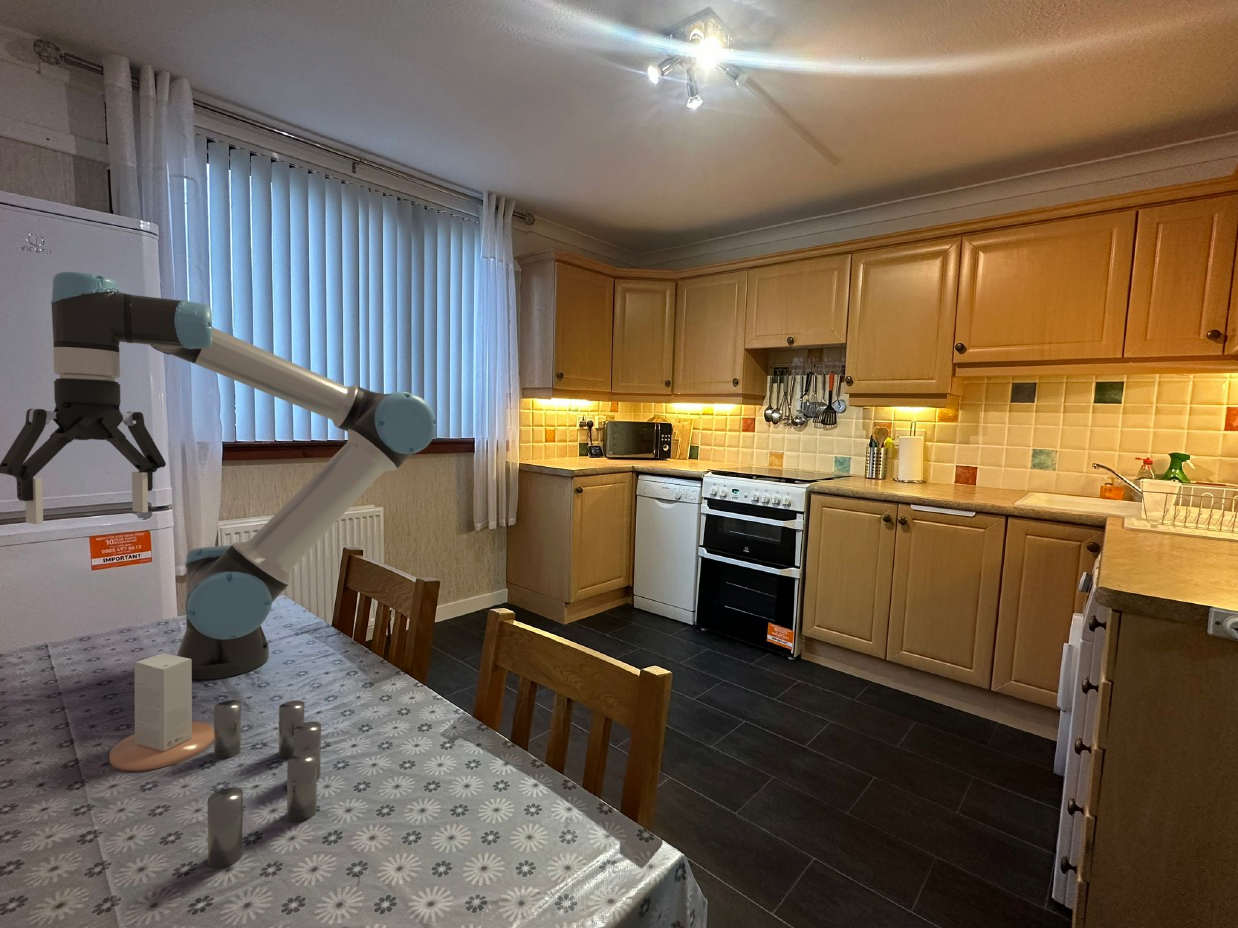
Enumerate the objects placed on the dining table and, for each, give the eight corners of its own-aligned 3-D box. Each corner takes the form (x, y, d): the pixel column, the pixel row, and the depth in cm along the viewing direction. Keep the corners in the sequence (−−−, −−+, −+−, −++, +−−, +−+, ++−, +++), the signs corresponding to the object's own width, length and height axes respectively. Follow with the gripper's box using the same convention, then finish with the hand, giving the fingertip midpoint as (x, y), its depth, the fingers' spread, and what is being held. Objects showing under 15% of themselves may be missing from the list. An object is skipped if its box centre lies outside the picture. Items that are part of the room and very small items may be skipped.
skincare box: (193, 738, 87) (193, 658, 86) (162, 753, 83) (162, 669, 82) (164, 730, 89) (164, 651, 88) (133, 743, 85) (132, 661, 84)
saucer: (181, 719, 93) (181, 714, 93) (233, 737, 89) (233, 732, 89) (89, 757, 82) (89, 751, 82) (144, 779, 78) (144, 773, 78)
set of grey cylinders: (255, 732, 91) (256, 687, 90) (376, 771, 82) (377, 722, 81) (92, 812, 71) (91, 755, 71) (227, 875, 62) (227, 811, 62)
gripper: (161, 384, 103) (162, 505, 105) (-40, 370, 80) (-34, 526, 81) (189, 385, 100) (191, 509, 102) (-10, 370, 77) (-5, 531, 79)
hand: (91, 517), depth 92 cm, fingers open, 13 cm apart
